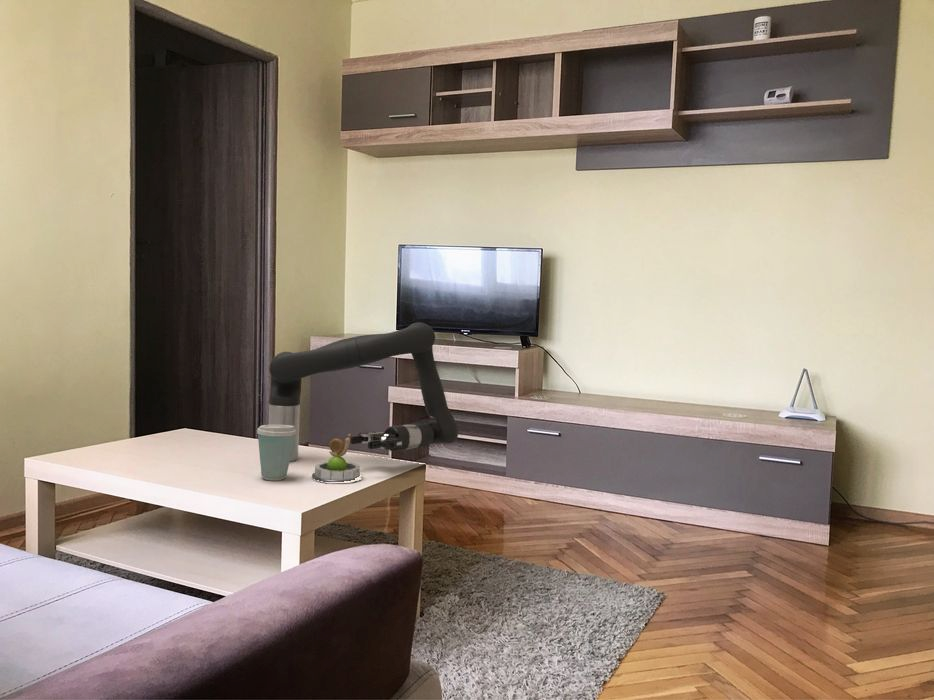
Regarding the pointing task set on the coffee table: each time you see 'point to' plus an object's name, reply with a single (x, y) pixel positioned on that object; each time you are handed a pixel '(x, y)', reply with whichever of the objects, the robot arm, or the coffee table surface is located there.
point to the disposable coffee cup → (275, 450)
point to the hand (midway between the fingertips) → (359, 442)
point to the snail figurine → (338, 454)
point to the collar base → (336, 473)
